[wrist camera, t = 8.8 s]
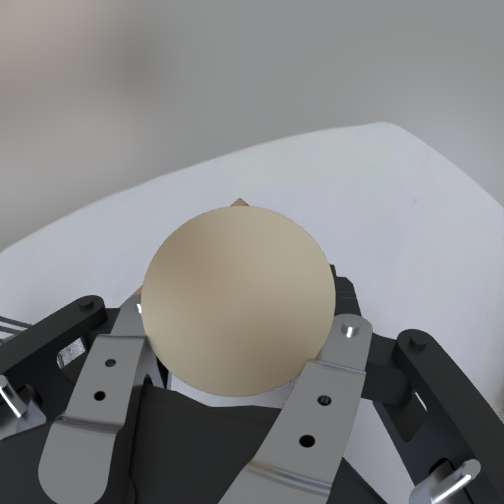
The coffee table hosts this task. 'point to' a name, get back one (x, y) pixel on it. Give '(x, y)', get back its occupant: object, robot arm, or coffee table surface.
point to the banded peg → (238, 301)
